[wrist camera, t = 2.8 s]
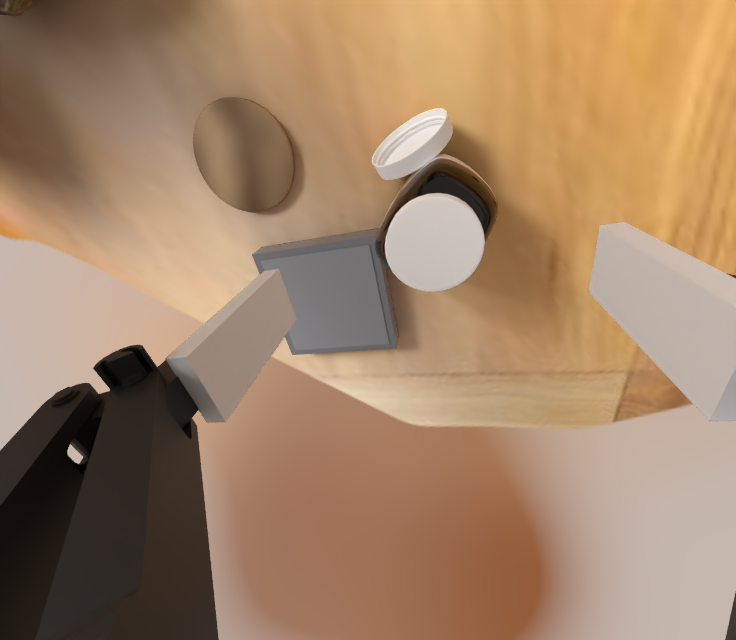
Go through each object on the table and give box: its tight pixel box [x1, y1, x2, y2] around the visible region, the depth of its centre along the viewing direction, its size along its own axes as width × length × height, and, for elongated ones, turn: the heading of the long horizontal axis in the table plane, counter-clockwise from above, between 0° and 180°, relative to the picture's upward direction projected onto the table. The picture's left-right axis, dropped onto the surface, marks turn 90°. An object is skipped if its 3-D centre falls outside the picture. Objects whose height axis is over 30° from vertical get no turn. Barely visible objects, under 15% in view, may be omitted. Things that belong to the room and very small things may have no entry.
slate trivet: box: [252, 228, 398, 355], centre depth 37 cm, size 14×14×3 cm
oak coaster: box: [193, 98, 295, 212], centre depth 31 cm, size 10×10×1 cm
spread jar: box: [372, 108, 498, 292], centre depth 26 cm, size 12×11×12 cm
